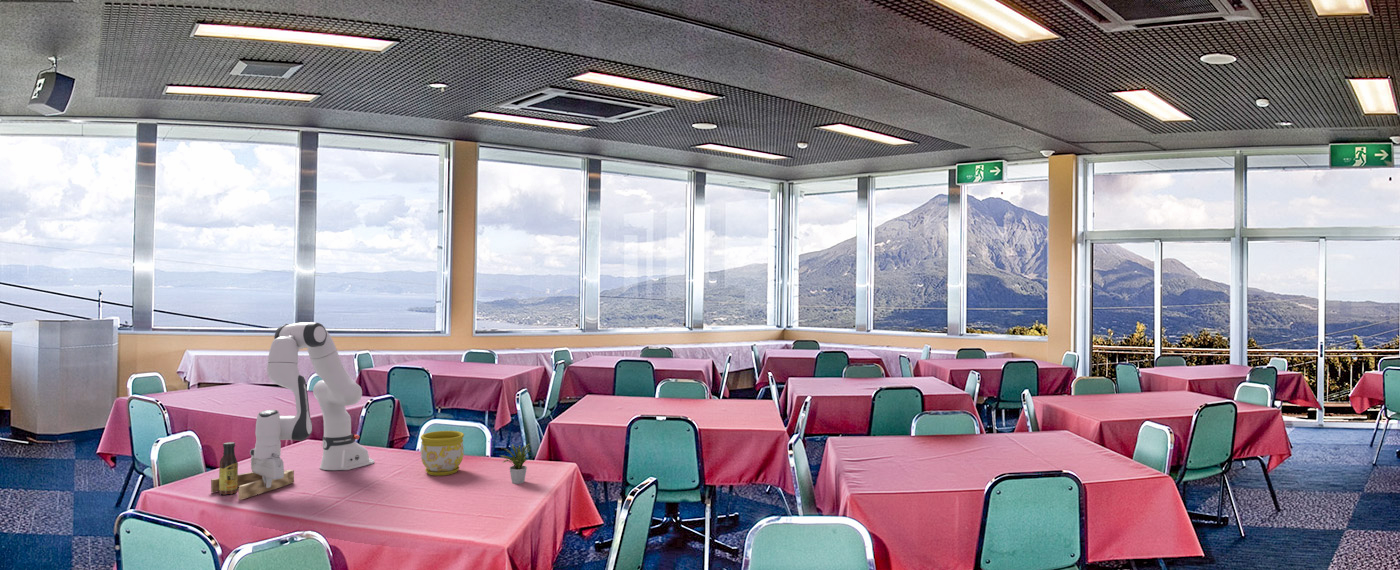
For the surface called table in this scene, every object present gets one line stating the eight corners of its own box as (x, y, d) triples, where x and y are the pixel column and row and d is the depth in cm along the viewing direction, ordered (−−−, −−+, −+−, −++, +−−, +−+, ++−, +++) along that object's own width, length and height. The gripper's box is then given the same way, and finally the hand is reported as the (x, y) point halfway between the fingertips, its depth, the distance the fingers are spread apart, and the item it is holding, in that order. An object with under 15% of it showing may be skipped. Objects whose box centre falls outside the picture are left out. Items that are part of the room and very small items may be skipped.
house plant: (513, 475, 344) (514, 437, 344) (541, 478, 339) (542, 440, 339) (494, 483, 330) (494, 444, 330) (523, 487, 326) (523, 447, 325)
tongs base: (278, 479, 333) (278, 463, 333) (286, 482, 328) (286, 467, 328) (211, 492, 313) (211, 476, 313) (219, 496, 308) (219, 479, 308)
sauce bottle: (228, 496, 309) (228, 445, 308) (215, 495, 310) (214, 444, 310) (241, 491, 315) (241, 441, 315) (228, 490, 317) (228, 441, 316)
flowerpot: (460, 465, 360) (460, 429, 360) (466, 474, 344) (467, 437, 344) (418, 469, 353) (418, 432, 352) (423, 479, 336) (423, 440, 336)
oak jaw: (288, 481, 329) (288, 469, 329) (295, 482, 328) (295, 470, 328) (234, 498, 305) (234, 485, 305) (241, 499, 304) (241, 486, 304)
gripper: (288, 454, 309) (288, 489, 309) (264, 447, 321) (264, 481, 321) (272, 456, 304) (271, 493, 304) (247, 450, 316) (247, 484, 316)
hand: (267, 487), depth 313 cm, fingers closed
